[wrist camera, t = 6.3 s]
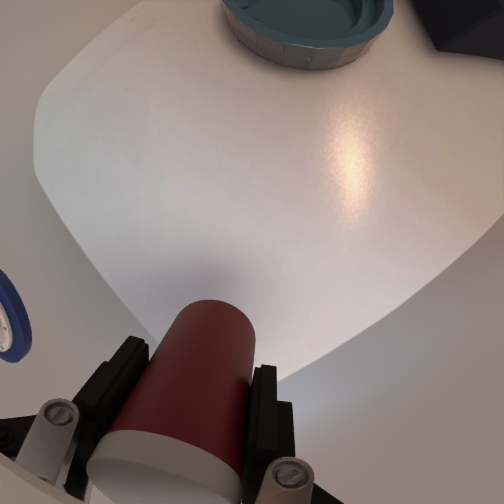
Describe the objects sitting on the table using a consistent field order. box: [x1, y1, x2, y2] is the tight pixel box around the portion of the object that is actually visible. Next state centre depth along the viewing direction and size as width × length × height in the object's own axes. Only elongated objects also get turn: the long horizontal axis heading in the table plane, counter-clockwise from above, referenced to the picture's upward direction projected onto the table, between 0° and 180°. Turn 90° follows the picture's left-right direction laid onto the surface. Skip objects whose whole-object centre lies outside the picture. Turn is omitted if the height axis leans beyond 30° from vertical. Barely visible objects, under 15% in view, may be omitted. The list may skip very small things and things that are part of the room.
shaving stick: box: [86, 300, 256, 504], centre depth 9 cm, size 4×4×9 cm
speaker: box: [413, 0, 504, 60], centre depth 12 cm, size 22×13×15 cm, turn 104°
